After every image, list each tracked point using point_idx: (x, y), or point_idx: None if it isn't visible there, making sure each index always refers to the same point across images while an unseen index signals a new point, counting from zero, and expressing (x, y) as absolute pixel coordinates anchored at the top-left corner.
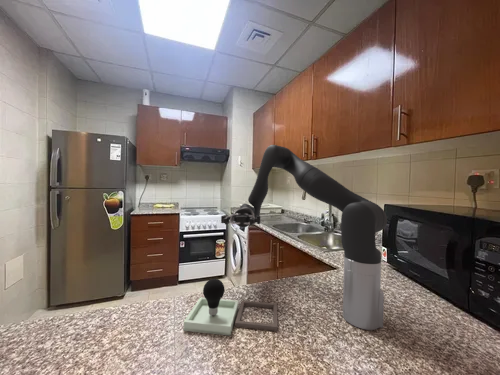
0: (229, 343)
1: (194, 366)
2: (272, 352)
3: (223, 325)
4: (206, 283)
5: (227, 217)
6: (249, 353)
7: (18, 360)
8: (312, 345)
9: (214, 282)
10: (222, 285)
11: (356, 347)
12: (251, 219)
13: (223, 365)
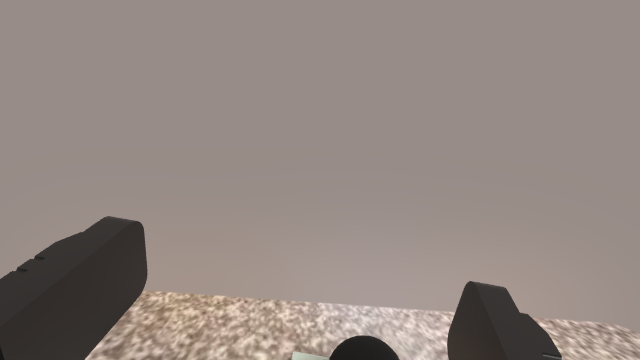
0: (293, 347)
1: (349, 310)
2: (208, 323)
3: (311, 355)
4: (394, 352)
5: (512, 345)
6: (254, 324)
7: (630, 337)
8: (108, 332)
9: (364, 339)
10: (334, 353)
11: None
12: (121, 220)
13: (302, 308)
